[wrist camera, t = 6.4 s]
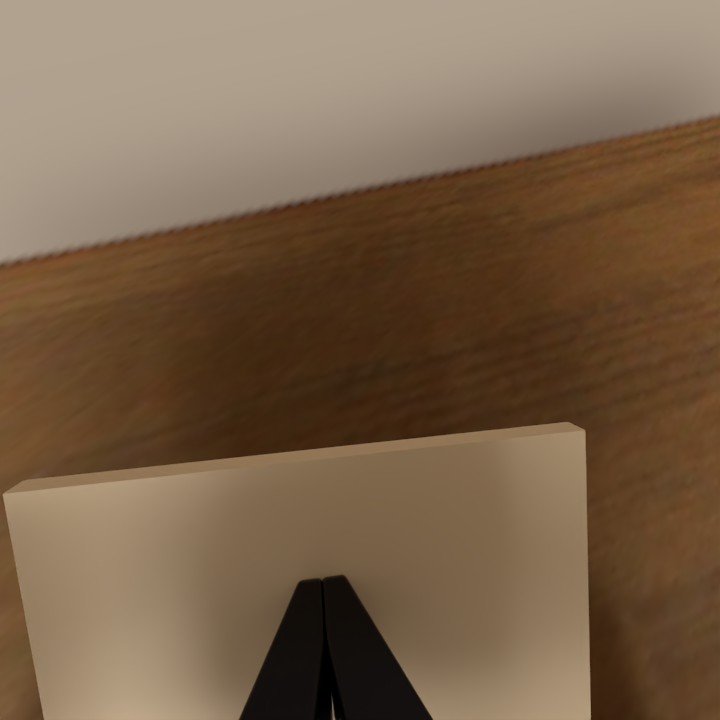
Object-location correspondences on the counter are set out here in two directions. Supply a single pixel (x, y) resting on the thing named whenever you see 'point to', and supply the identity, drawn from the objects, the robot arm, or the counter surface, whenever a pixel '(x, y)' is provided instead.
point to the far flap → (313, 573)
